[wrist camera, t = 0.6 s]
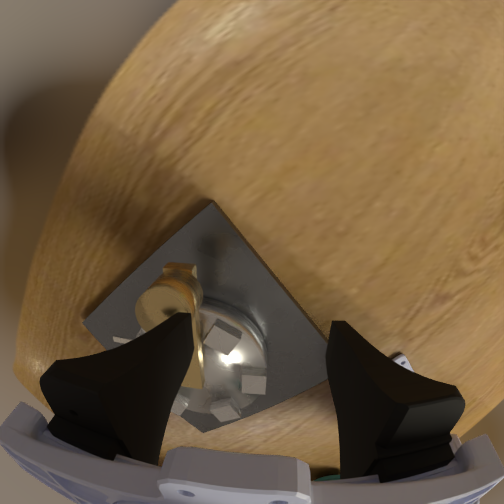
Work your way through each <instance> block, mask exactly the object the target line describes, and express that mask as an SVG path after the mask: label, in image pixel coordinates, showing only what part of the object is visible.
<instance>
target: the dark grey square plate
mask: <svg viewBox="0 0 504 504" xmlns="http://www.w3.org/2000/svg"><path fill="white" fill-rule="evenodd" d="M168 262H175V263H191V264H196V267H197V280H198V281H199V283H200V285H201V287H202V290H203V298H209V299H213V300H217V301H220V302H222V303H225V304H227V305H229V306H231V307H233V308H235V309H237V310H238V311H240V312H241V313H243V314H244V315H245V316H246V317H248V318H249V319H250V320H251V321H252V322H253V323H254V324H255V326H256V327H257V328H258V330H259V331H260V333H261V334H262V336H263V338H264V341H265V344H266V347H267V378H266V390H265V395H264V394H260V395H259V396H258V397H257V399H256V400H254V401H253V402H252V403H251V404H249V405H248V406H246V407H244V408H242V412H241V418H237V419H233V420H228V421H224V422H220V421H219V420H218V419H217V418H216V417H215V415H214V414H207V413H200V412H194V411H191V410H187V409H185V410H184V411H183V413H182V414H181V415H180V416H181V417H182V418H184V419H185V420H186V421H188V422H189V423H190V424H192V425H193V426H194V427H196V428H197V429H198V430H200V431H201V432H203V433H204V432H207V431H210V430H213V429H216V428H219V427H222V426H224V425H227V424H230V423H233V422H235V421H238V420H240V419H243V418H246V417H248V416H251V415H253V414H255V413H258V412H260V411H263V410H265V409H267V408H269V407H272V406H274V405H276V404H278V403H281V402H283V401H285V400H287V399H289V398H291V397H293V396H295V395H298V394H300V393H302V392H304V391H306V390H308V389H310V388H312V387H313V386H315V385H317V384H319V383H321V382H323V381H325V380H327V379H328V376H327V369H326V359H325V354H326V350H327V345H328V339H327V338H326V337H325V336H324V335H323V333H322V332H321V331H320V330H319V328H318V327H317V326H316V325H315V323H314V322H313V321H312V320H311V318H310V317H309V316H308V315H307V314H306V312H305V311H304V310H303V309H302V307H301V306H300V305H299V304H298V302H297V301H296V300H295V299H294V298H293V296H292V295H291V294H290V293H289V291H288V290H287V289H286V288H285V287H284V285H283V284H282V283H281V282H280V280H279V279H278V278H277V277H276V275H275V274H274V273H273V272H272V271H271V269H270V268H269V267H268V266H267V264H266V263H265V262H264V261H263V260H262V258H261V257H260V256H259V255H258V253H257V252H256V251H255V250H254V248H253V247H252V246H251V245H250V244H249V242H248V241H247V240H246V239H245V237H244V236H243V235H242V234H241V233H240V231H239V230H238V229H237V228H236V226H235V225H234V224H233V223H232V222H231V220H230V219H229V218H228V217H227V215H226V214H225V213H224V212H223V211H222V209H221V208H220V207H219V206H218V204H217V203H216V202H215V201H213V202H212V203H210V204H209V205H208V206H207V207H206V208H205V209H203V210H202V211H201V212H200V213H199V214H197V215H196V216H195V217H194V218H193V219H192V220H190V221H189V222H188V223H187V224H186V225H185V226H184V227H182V228H181V229H180V230H179V231H178V232H177V233H176V234H174V235H173V236H172V237H171V238H170V239H169V240H168V241H167V242H165V243H164V244H163V245H162V246H161V247H160V248H159V249H158V250H157V251H155V252H154V253H153V254H152V255H151V256H150V257H149V258H148V259H147V260H146V261H145V262H144V263H142V264H141V265H140V266H139V267H138V268H137V269H136V270H135V271H134V272H133V273H132V274H131V275H130V276H129V277H128V278H127V279H126V280H124V281H123V282H122V283H121V284H120V285H119V286H118V287H117V288H116V289H115V290H114V291H113V292H112V293H111V294H110V295H109V296H108V297H107V298H106V299H105V300H104V301H103V302H102V303H101V304H100V305H99V306H98V307H97V308H96V309H95V310H94V311H93V312H92V313H91V314H90V315H89V316H88V317H87V318H86V319H85V320H84V321H83V322H82V323H83V324H84V325H85V327H86V328H87V329H88V330H89V331H90V332H91V333H92V334H93V336H94V337H95V338H96V339H97V340H98V341H99V342H100V343H101V344H102V345H103V346H104V347H105V348H106V350H110V349H113V348H116V347H118V346H121V345H123V344H125V343H127V342H130V341H132V340H134V339H136V336H137V334H138V332H139V330H140V329H141V328H142V327H141V326H140V324H139V323H138V321H137V318H136V315H135V305H136V302H137V300H138V299H139V297H140V296H141V295H142V294H143V293H144V292H145V291H146V290H147V289H148V288H149V287H150V286H151V284H152V283H153V282H154V281H155V280H156V279H157V278H158V277H159V276H160V275H161V274H162V273H163V267H164V266H165V265H166V264H167V263H168Z"/></svg>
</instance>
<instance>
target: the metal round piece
mask: <svg viewBox="0 0 504 504" xmlns="http://www.w3.org/2000/svg"><path fill="white" fill-rule="evenodd" d="M177 312H185V313H191V318H192V329H193V339H194V352H193V356H192V360H191V363H190V366H189V369H188V371H187V373H186V375H185V378H184V380H183V382H182V384H181V387H180V389H179V391H178V393H177V396H176V398H175V400H174V403H173V405H172V408H171V412H173V413H175V414H177V415H179V416H180V415H181V414H182V413H183V411H184V410H185V409H187V410H191V411H194V412H200V413H207V414H214V415H215V417H216V418H217V419H218V420H219V421H220V422H224V421H228V420H233V419H237V418H241V412H242V408H244V407H246V406H248V405H249V404H251V403H252V402H253V401H254V400H256V399H257V397H258V396H259V395H260V394H264V395H265V390H266V378H267V347H266V344H265V341H264V338H263V336H262V334H261V333H260V331H259V330H258V328H257V327H256V326H255V324H254V323H253V322H252V321H251V320H250V319H249V318H248V317H246V316H245V315H244V314H243V313H241V312H240V311H238V310H237V309H235V308H233V307H231V306H229V305H227V304H225V303H222V302H220V301H217V300H213V299H209V298H203V290H202V287H201V285H200V283H199V281H198V280H197V267H196V264H191V263H175V262H168V263H167V264H166V265H165V266H164V267H163V273H162V274H161V275H160V276H159V277H158V278H157V279H156V280H155V281H154V282H153V283H152V284H151V286H150V287H149V288H148V289H147V290H146V291H145V292H144V293H143V294H142V295H141V296H140V297H139V299H138V300H137V302H136V305H135V315H136V318H137V321H138V323H139V324H140V326H141V327H142V328H141V329H140V330H139V332H138V334H137V336H136V338H137V337H139V336H141V335H142V334H144V333H146V332H148V331H149V330H151V329H153V328H154V327H156V326H157V325H159V324H160V323H162V322H163V321H165V320H166V319H168V318H169V317H171V316H172V315H174V314H176V313H177Z"/></svg>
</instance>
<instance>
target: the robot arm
mask: <svg viewBox="0 0 504 504" xmlns="http://www.w3.org/2000/svg"><path fill="white" fill-rule="evenodd" d="M193 352H194V339H193V329H192V318H191V313H185V312H177V313H176V314H174V315H172V316H171V317H169V318H168V319H166V320H165V321H163V322H162V323H160V324H159V325H157V326H156V327H154V328H153V329H151V330H149V331H148V332H146V333H144V334H142V335H141V336H139V337H137V338H136V339H134V340H132V341H130V342H127V343H125V344H123V345H121V346H118V347H116V348H113V349H110V350H107V351H104V352H101V353H98V354H94V355H90V356H85V357H80V358H73V359H64V360H56V361H55V362H54V363H53V364H52V365H51V366H50V368H49V369H48V370H47V371H46V372H45V373H44V374H43V375H42V376H41V377H40V381H39V382H40V387H41V390H42V392H43V395H44V396H45V398H46V400H47V402H48V404H49V405H50V407H51V409H52V410H53V412H54V414H55V415H54V417H53V418H52V420H51V421H50V422H49V424H48V423H47V421H46V419H45V417H44V416H43V415H42V414H41V413H40V412H39V411H38V410H36V409H34V408H33V407H31V406H29V405H27V404H26V403H24V402H20V403H19V404H18V405H17V407H16V408H15V409H14V410H13V411H12V413H11V414H10V415H9V416H8V417H7V419H6V420H5V421H4V422H3V424H2V425H1V426H0V445H1V446H2V447H3V448H4V450H5V451H6V452H7V453H8V454H9V455H10V456H11V457H12V458H13V459H14V461H15V462H16V463H17V464H18V465H19V466H20V467H21V468H22V469H23V470H25V471H26V472H28V473H29V474H30V475H32V476H33V477H35V478H37V479H38V480H39V481H41V482H42V483H44V484H45V485H47V486H48V487H50V488H52V489H53V490H55V491H56V492H58V493H60V494H61V495H63V496H65V497H66V498H68V499H70V500H71V501H73V502H75V503H77V504H479V503H480V500H479V498H481V497H482V496H483V495H485V494H486V493H487V492H488V491H489V490H490V489H492V488H493V487H494V486H495V485H496V484H497V483H499V482H500V481H501V480H502V479H503V478H504V467H503V465H502V463H501V461H500V459H499V457H498V455H497V453H496V451H495V449H494V447H493V445H492V443H491V441H490V439H489V437H488V435H487V434H483V435H481V436H479V437H476V438H473V439H471V440H468V441H467V442H465V443H464V444H461V442H460V440H459V438H458V436H457V434H451V433H450V431H451V430H452V429H453V427H454V426H455V424H456V423H457V422H458V420H459V419H460V417H461V415H462V413H463V412H464V408H465V400H464V399H463V397H462V395H461V394H460V392H459V390H458V389H457V387H456V386H454V385H450V384H446V383H442V382H438V381H435V380H432V379H429V378H427V377H424V376H421V375H419V374H417V373H415V372H414V371H413V369H412V367H411V365H410V364H409V362H408V360H407V358H406V356H405V355H404V354H400V355H398V356H397V357H395V358H394V359H392V360H391V359H390V358H388V357H387V356H385V355H384V354H383V353H381V352H380V351H379V350H377V349H376V348H375V347H374V346H372V345H371V344H370V343H369V342H368V341H367V340H365V339H364V338H363V337H362V336H361V335H360V334H359V333H358V332H357V331H356V330H355V329H354V328H352V327H351V326H350V325H349V324H348V323H347V322H346V321H332V324H331V329H330V335H329V340H328V345H327V350H326V354H325V359H326V369H327V376H328V380H329V384H330V388H331V393H332V397H333V401H334V405H335V409H336V414H337V421H338V431H339V445H340V480H330V481H311V479H310V469H309V465H308V464H307V463H305V462H303V461H301V460H299V459H297V458H295V457H288V456H281V455H262V454H247V453H235V452H226V451H218V450H210V449H204V448H197V447H177V448H174V449H172V450H169V451H167V454H166V457H165V459H164V462H163V465H162V467H160V466H157V465H158V460H159V455H160V450H161V445H162V441H163V437H164V433H165V429H166V425H167V422H168V418H169V415H170V411H171V408H172V405H173V403H174V400H175V398H176V396H177V393H178V391H179V389H180V387H181V384H182V382H183V380H184V378H185V375H186V373H187V371H188V369H189V366H190V363H191V360H192V356H193ZM402 361H403V362H402ZM401 362H402V363H401Z"/></svg>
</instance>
